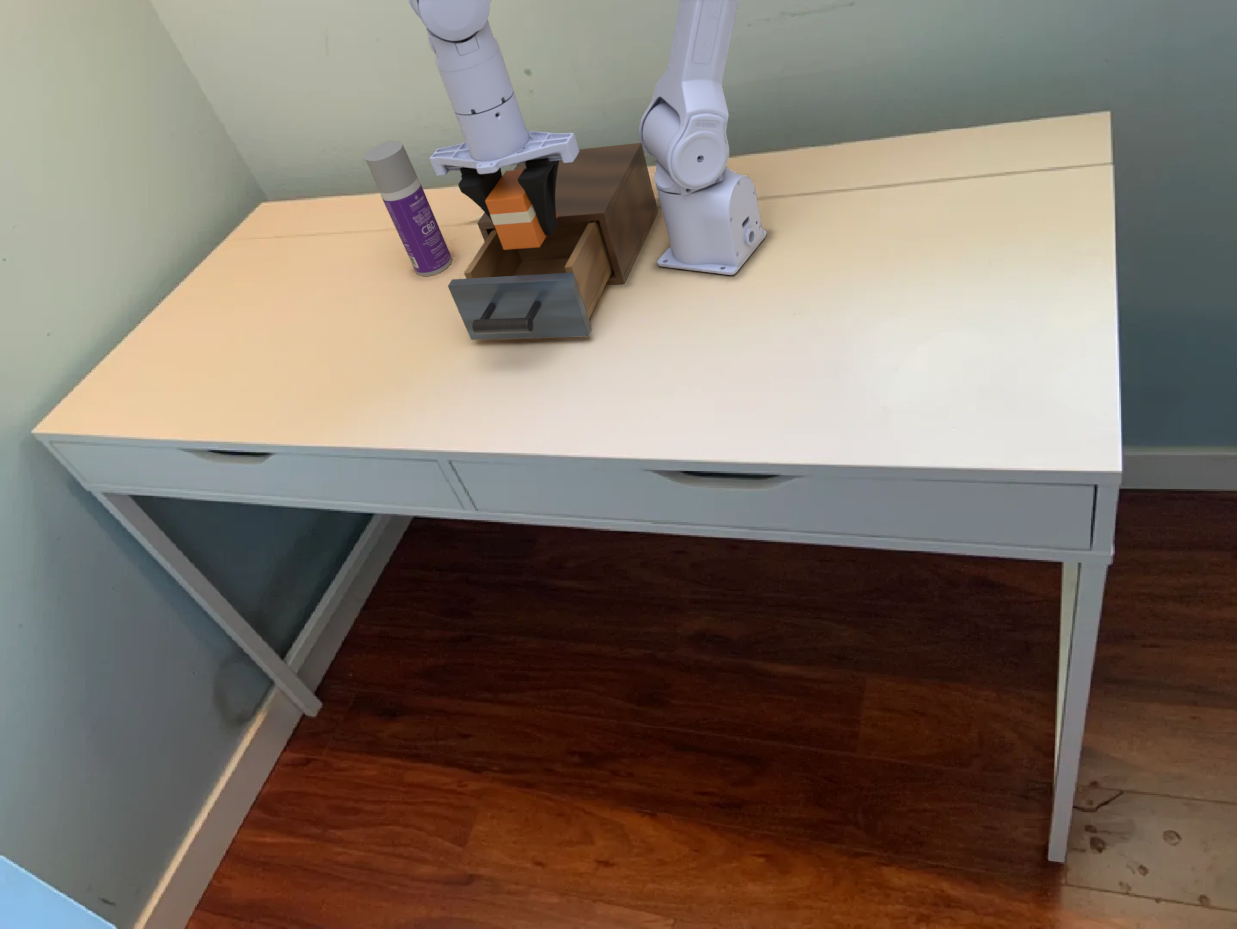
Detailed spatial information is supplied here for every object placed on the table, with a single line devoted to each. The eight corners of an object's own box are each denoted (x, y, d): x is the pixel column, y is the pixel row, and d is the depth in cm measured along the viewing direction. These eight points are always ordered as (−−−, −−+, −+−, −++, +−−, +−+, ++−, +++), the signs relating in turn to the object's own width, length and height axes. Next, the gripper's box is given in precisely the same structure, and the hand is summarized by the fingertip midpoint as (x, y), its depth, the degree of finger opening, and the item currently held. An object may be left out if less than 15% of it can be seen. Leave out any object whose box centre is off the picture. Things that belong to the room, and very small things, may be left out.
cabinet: (624, 284, 102) (603, 212, 97) (503, 290, 108) (476, 223, 102) (658, 211, 112) (641, 142, 106) (545, 220, 117) (523, 155, 112)
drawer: (576, 363, 93) (555, 305, 88) (455, 365, 98) (430, 311, 93) (625, 259, 104) (609, 203, 100) (515, 266, 109) (495, 213, 105)
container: (445, 274, 114) (395, 157, 104) (410, 278, 115) (357, 163, 105) (457, 252, 117) (409, 137, 107) (423, 256, 118) (372, 143, 108)
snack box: (540, 247, 93) (522, 197, 90) (503, 250, 95) (484, 200, 91) (558, 216, 97) (542, 166, 93) (522, 219, 98) (505, 170, 95)
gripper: (397, 130, 87) (451, 258, 96) (541, 111, 81) (584, 249, 90) (428, 94, 91) (477, 219, 100) (567, 74, 86) (606, 209, 95)
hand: (530, 231), depth 96 cm, fingers closed on snack box, 4 cm apart
